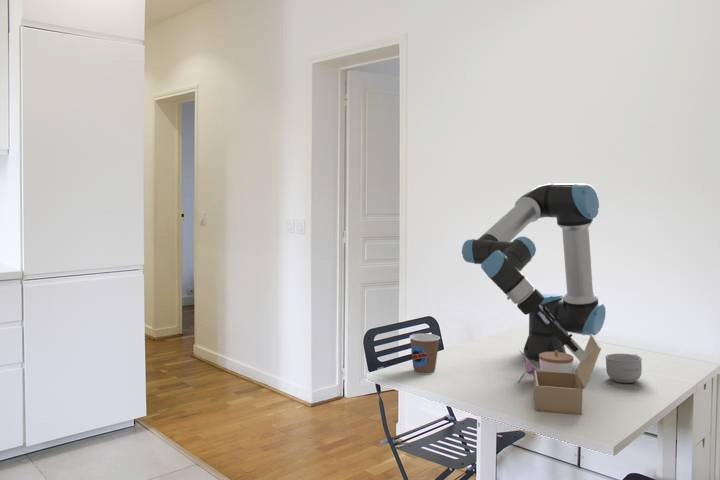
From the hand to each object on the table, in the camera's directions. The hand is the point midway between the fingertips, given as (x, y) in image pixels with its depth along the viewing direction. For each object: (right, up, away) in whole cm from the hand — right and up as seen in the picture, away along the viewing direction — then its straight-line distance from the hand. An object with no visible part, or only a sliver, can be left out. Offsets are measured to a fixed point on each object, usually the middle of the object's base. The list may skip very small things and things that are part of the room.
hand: (584, 358), depth 174 cm
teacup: (+23, -12, +26) cm, 37 cm away
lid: (0, -1, 0) cm, 1 cm away
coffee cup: (-42, -11, +35) cm, 55 cm away
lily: (-9, -12, +23) cm, 27 cm away
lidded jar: (0, -12, +26) cm, 29 cm away
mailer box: (-7, -14, +3) cm, 15 cm away
